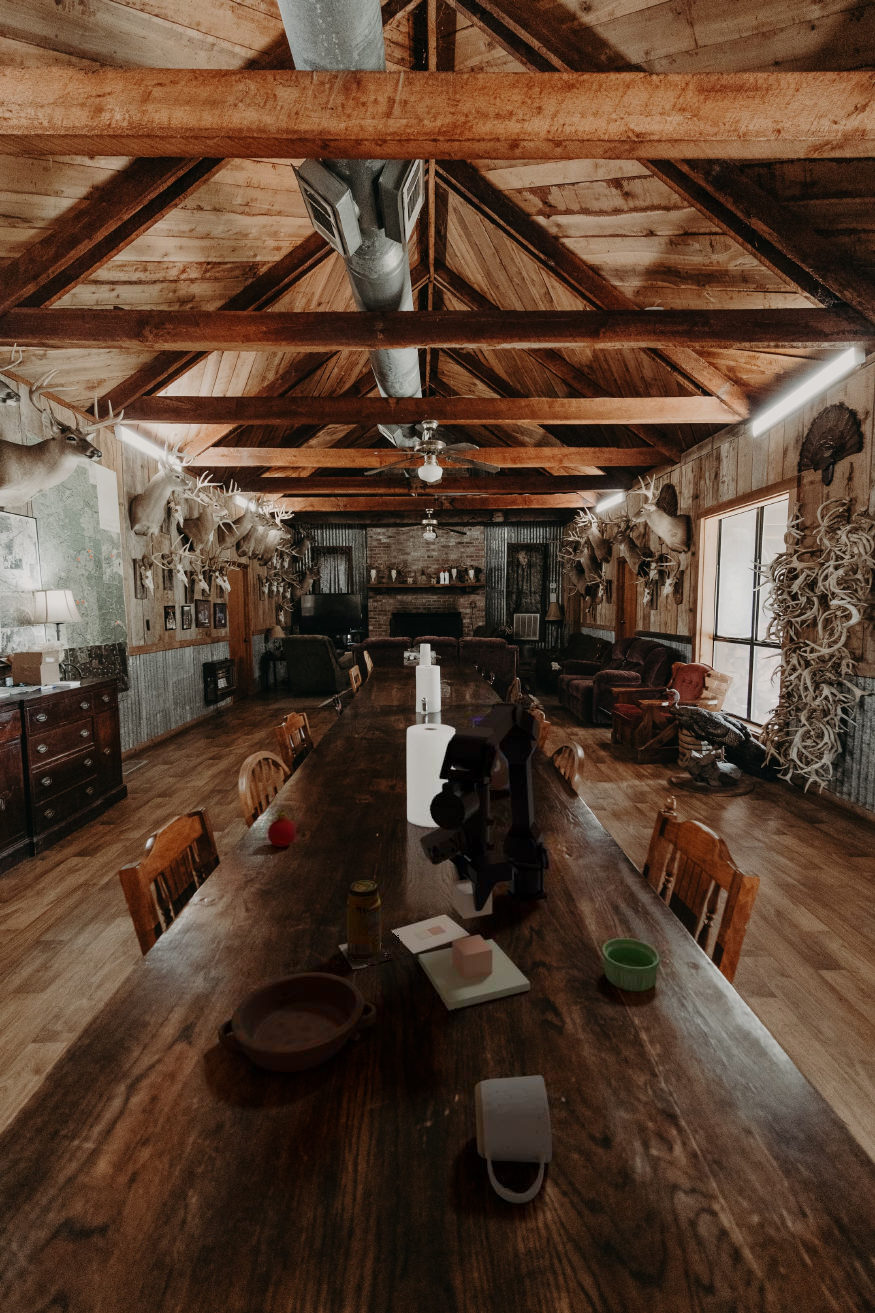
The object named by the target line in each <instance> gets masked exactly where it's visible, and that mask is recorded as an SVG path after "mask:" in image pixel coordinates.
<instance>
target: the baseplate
mask: <svg viewBox="0 0 875 1313" xmlns="http://www.w3.org/2000/svg"><path fill="white" fill-rule="evenodd" d="M484 940H485V942H486V943H487V944H488V945H489V946H490V947H491V948H492V973H490V974H486V975H482V976H478V977H474V978H470V979H466V980H464V978H463V977H462V976H461V974H460V973H459V971H458V970H457V969H456V967H455V966H454V965H453V955H452V947H449V948H445V949H439V950H435V951H430V952H425V953H421V954H418V963H419V964H420V966H421V967H422V969H423V970H424V973H425V974H426V976H427V977H428V979H429V981H430V982H431V984H432V986H433V988H434V989H435V991H436V990H437V991H436V992H437V994H438V993H439V994H438V995H440V996H439V997H440V998H441V1001H442V1002H443V1004H444V1003H445V1004H444V1005H445V1007H446V1009H447V1010H448V1011H451V1010H456V1009H460V1008H463V1007H467V1006H471V1005H476V1004H480V1003H484V1002H487V1001H491V1000H495V999H500V998H503V997H507V996H510V995H516V994H519V993H522V992H527V991H530V990H531V982H530V981H529V979H527V977H526V976H525V975H524V974H523V972H522V971H521V970H520V969H519V968H518V967H517V966H516V965H515V964H514V962H513V961H512V960H511V959H510V958H509V956H507V954H506V953H505V952H504V951H503V950H502V949H501V947H500V946H499V945H498V944H497V943H496V942H495V941H494V939H492V938H490V939H484ZM455 1008H456V1009H455Z"/></svg>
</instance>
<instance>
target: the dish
mask: <svg viewBox="0 0 875 1313" xmlns="http://www.w3.org/2000/svg"><path fill="white" fill-rule="evenodd" d="M376 1018H377V1009H376V1006H375V1005H373V1004H372V1003H370V1002H367V1001H365V997H364V995H363V993H362V992H361V991H360V990H359V988H358V987H357V986H356V985H355V984H354V983H352V982H351V981H350V980H348V979H346V978H344V977H341V976H339V975H336V974H332V973H327V972H322V971H321V972H314V971H313V972H302V973H301V972H299V973H295V974H294V973H293V974H289V975H286V976H282V977H278V978H274V979H272V980H270V981H268V982H265V983H264V984H261V985H260V986H257V987H256V988H255V989H253V990H251V991H250V992H249V993H247V994H246V995H245V997H243V999H241V1001H240V1002H239V1004H238V1005H237V1007H236V1009H234V1011H233V1014H232V1015H231V1018H230V1019H227V1021H225V1022H223V1023H222V1024H221V1025H220V1026H219V1028H218V1030H217V1036H218V1042H219V1044H220V1045H221V1047H222V1048H225V1050H232V1051H236V1052H237V1051H238V1052H243V1053H244V1054H245V1055H246V1056H247V1058H249V1060H251V1062H252V1063H254V1064H255V1065H257V1066H258V1067H260V1068H262V1069H263V1070H264V1069H265V1070H268V1071H272V1072H275V1073H276V1072H277V1073H295V1072H301V1071H306V1070H309V1069H312V1068H315V1067H318V1066H320V1065H321V1064H323V1063H325V1062H327V1061H328V1060H330V1058H332V1057H333V1056H336V1054H337V1053H339V1052H340V1051H341V1049H342V1048H343V1047H344V1046H345V1045H346V1043H347V1042H348V1041H349V1039H350V1038H351V1036H352V1035H353V1034H354V1033H356V1032H358V1031H362V1030H364V1029H367V1028H370V1027H371V1026H373V1025H374V1023H375V1022H376V1020H377V1019H376ZM230 1033H233V1035H232V1036H231V1035H228V1034H230Z"/></svg>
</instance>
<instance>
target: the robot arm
mask: <svg viewBox="0 0 875 1313" xmlns="http://www.w3.org/2000/svg"><path fill="white" fill-rule="evenodd" d="M481 719H482V720H481V721H480V722H479V723H478V724H477V725H476V726H475V727H474V728H473V727H470V728H466V729H462V730H460V731H458V732H456V733H454V734H453V735H452V737H451V738H450V740H448V742H447V744H446V749H445V752H444V757H443V759H442V764H441V769H440V772H439V775H438V776H439V777H438V778H439V780H445V782H443V783H442V784H441V791H439V793H437V794H436V795H434V796H433V798H432V800H431V802H430V805H429V814H430V816H431V820H433V822H434V823H435V824H436V826H438V827H439V828H437V829H435V830H432V831H431V832H429V833H427V834H425V835H423V836H422V837H420V838H419V842H420V845H421V848H422V851H423V853H424V855H425V858H426V859H427V860H429V862H430V863H431V864H432V865H434V866H435V865H440V864H442V863H443V862H446V861H450V862H451V863H452V865H453V867H454V871H455V875H456V877H457V881H461V880H467V879H469V880H470V881H471V884H472V892H473V900H474V906H475V910H476V911H482V910H483V908H484V906H485V904H486V902H487V900H488V898H489V896H490V894H491V892H492V893H493V890H494V888H495V887H496V885H497V884H498V883H502V882H503V883H504V882H508V886H507V890H508V891H509V892H510V893H511V894H512V895H513V896H515V897H516V899H518V900H519V901H521V902H523V901H530V900H534V899H539V898H544V897H548V893H547V892H546V891H545V890H544V872H545V870H549V869H550V867H551V865H550V863H551V858H550V852H549V850H548V847H547V844H546V842H544V834H543V830H542V829H541V827H540V826H539V825H538V823H536V821H535V817H534V816H535V814H534V798H533V797H534V795H533V778H532V758H531V757H532V754H533V753H534V751H535V749H536V748H537V746H538V744H539V740H540V736H541V725H540V723H539V721H538V719H537V717H536V716H535V715H534V714H532V713H530V712H528V711H527V710H525V709H523V707H522V705H521V704H519V703H517V702H510V701H509V702H508V701H507V702H506V701H497V702H494V703H493V704H492V706H491V710H490V711H489V712H487V714H486V715H485V716H484V717H482V718H481ZM497 745H499V750H500V751H501V752H502V754H503V755H504V756H505V758H506V759H507V761H508V773H509V789H510V791H509V804H510V805H509V806H510V816H511V817H510V818H511V820H510V821H511V826H510V827H509V830H508V831H507V833H506V835H505V837H504V839H503V844H502V852H503V855H501V854H500V853H495V854H488V853H487V852H488V851H494V850H495V843H494V842H492V841H491V840H490V827H491V826H494V825H495V818H493V817H492V816H491V815H490V791H489V779H490V777H493V773H494V770H495V766H496V763H497V760H498V756H499V752H498V750H497Z"/></svg>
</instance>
